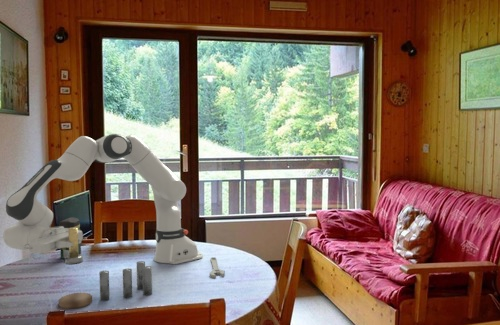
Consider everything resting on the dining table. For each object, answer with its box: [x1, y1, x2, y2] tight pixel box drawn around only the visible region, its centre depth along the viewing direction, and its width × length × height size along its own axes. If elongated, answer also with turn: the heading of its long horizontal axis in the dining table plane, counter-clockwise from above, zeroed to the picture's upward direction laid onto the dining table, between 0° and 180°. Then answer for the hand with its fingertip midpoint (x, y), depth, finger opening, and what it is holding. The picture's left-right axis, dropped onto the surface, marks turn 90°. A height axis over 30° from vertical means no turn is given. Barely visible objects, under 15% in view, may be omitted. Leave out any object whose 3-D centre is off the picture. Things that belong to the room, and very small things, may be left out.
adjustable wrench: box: [209, 256, 226, 279], centre depth 191 cm, size 25×6×2 cm, turn 4°
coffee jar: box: [58, 216, 82, 260], centre depth 207 cm, size 10×8×19 cm
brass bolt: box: [64, 227, 84, 266], centre depth 152 cm, size 6×6×12 cm
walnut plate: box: [58, 292, 93, 310], centre depth 153 cm, size 11×11×2 cm
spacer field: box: [98, 260, 153, 302], centre depth 161 cm, size 15×17×10 cm
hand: (75, 243), depth 151 cm, fingers closed on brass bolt, 3 cm apart
